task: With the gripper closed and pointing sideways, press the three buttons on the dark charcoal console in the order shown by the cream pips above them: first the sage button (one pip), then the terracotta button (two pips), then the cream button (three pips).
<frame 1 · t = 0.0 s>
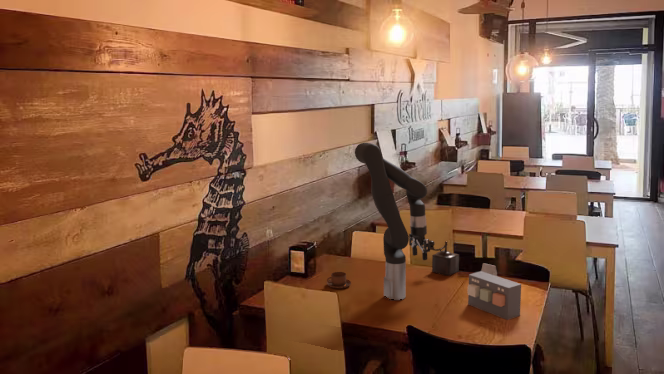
hand: (419, 257, 281), 17 cm above the table, tool pointing down, fingers open, 8 cm apart
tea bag: (488, 284, 295), on the table
cup and saucer: (338, 286, 295), on the table
console: (493, 309, 261), on the table
pepper mill: (442, 273, 313), on the table
button terracotta: (500, 299, 252), point 8 cm above the table, slide at 0.0 cm
button sage: (487, 294, 258), point 8 cm above the table, slide at 0.0 cm
button cream: (474, 290, 263), point 8 cm above the table, slide at 0.0 cm
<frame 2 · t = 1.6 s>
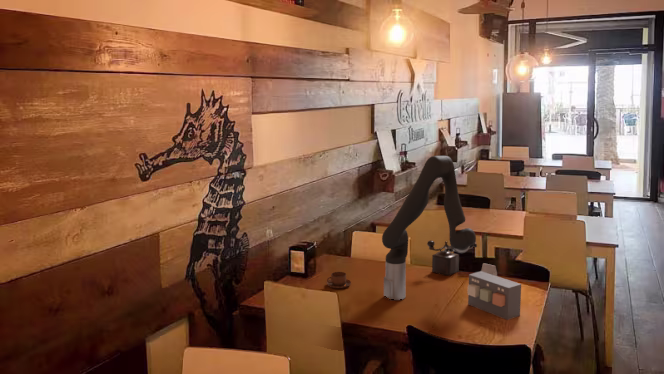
hand: (460, 248, 275), 23 cm above the table, tool tilted 65°, fingers open, 8 cm apart
nothing on the table moved.
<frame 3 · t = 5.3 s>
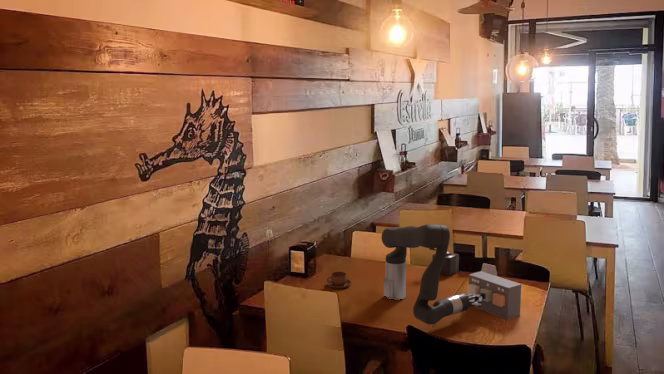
hand: (484, 295, 256), 8 cm above the table, tool horizontal, fingers closed
button sage: (487, 294, 258), point 8 cm above the table, slide at 0.1 cm, touching gripper
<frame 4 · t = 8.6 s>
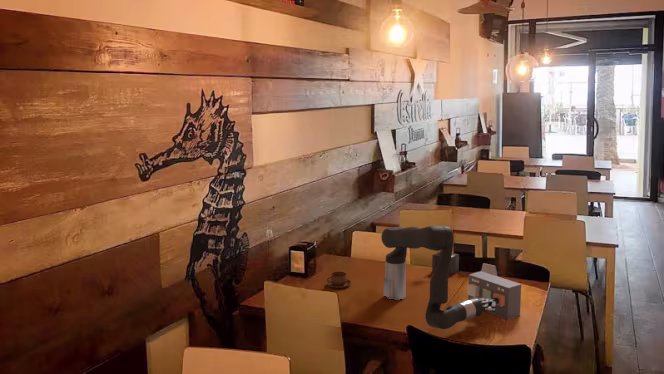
hand: (497, 300, 251), 8 cm above the table, tool horizontal, fingers closed
button terracotta: (500, 299, 252), point 8 cm above the table, slide at 0.3 cm, touching gripper
button sage: (490, 293, 259), point 8 cm above the table, slide at 1.8 cm
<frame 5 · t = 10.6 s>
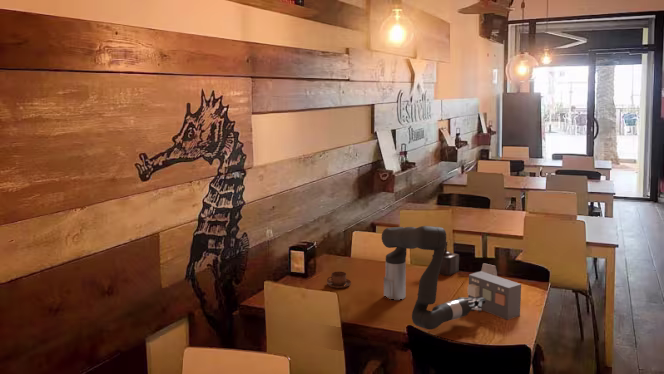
hand: (483, 300, 251), 8 cm above the table, tool horizontal, fingers closed
button terracotta: (503, 298, 253), point 8 cm above the table, slide at 1.8 cm
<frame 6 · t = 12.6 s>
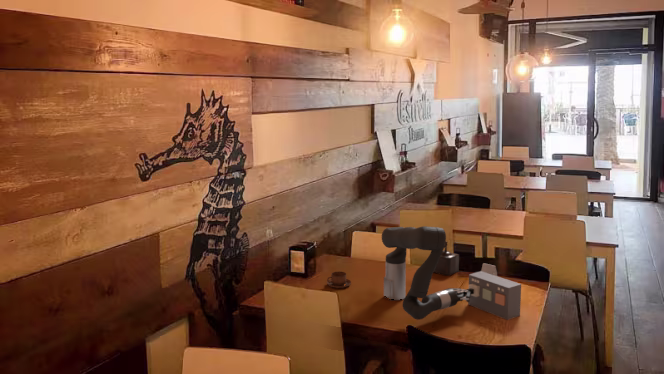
hand: (472, 290, 262), 8 cm above the table, tool horizontal, fingers closed
button cream: (475, 289, 264), point 8 cm above the table, slide at 0.5 cm, touching gripper
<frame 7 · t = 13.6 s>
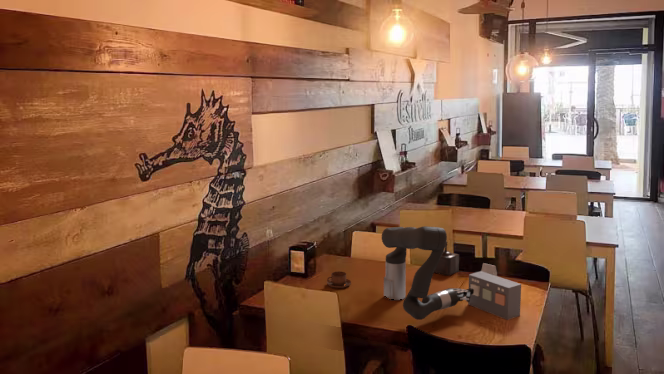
hand: (472, 290, 262), 8 cm above the table, tool horizontal, fingers closed
button cream: (477, 289, 264), point 8 cm above the table, slide at 1.8 cm
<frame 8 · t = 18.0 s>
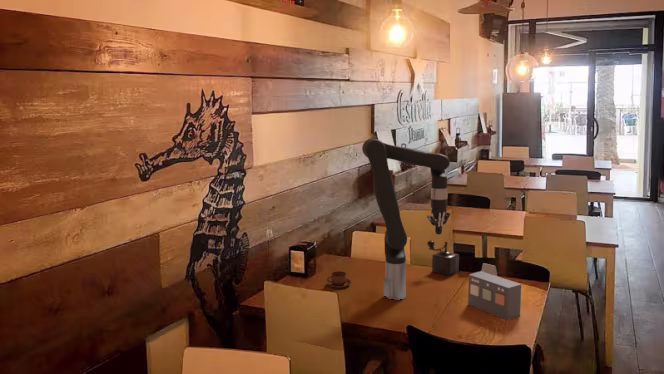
hand: (438, 233, 277), 29 cm above the table, tool pointing down, fingers closed
at the end: button sage slide at 1.8 cm; button terracotta slide at 1.8 cm; button cream slide at 1.8 cm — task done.
